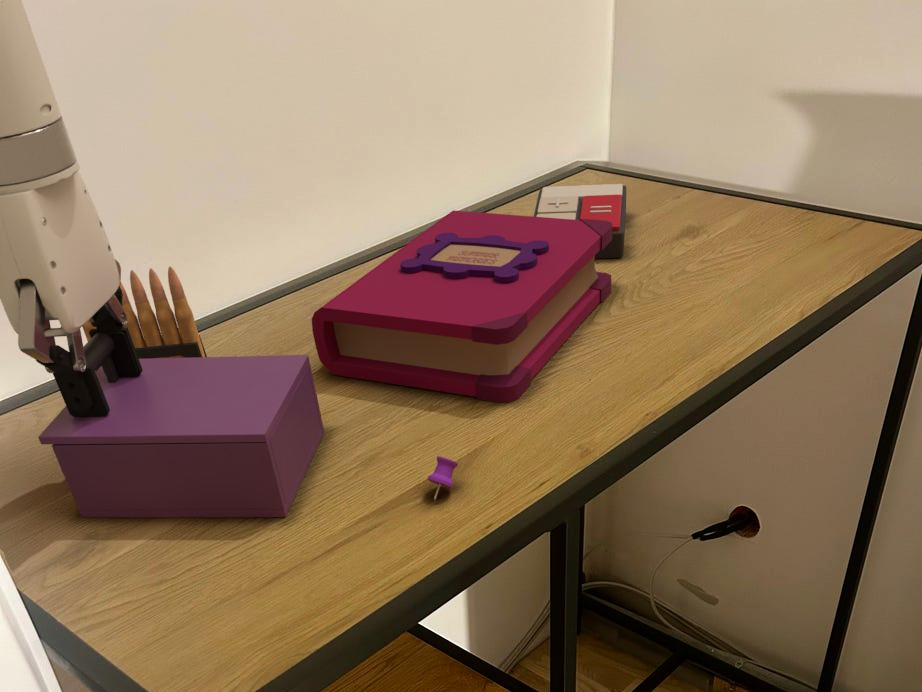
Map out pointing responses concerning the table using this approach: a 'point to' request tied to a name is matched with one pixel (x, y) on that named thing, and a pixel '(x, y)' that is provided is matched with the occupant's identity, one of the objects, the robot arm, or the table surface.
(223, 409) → the lid
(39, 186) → the robot arm
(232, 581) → the table surface
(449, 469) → the pushpin
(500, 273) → the book
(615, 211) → the calculator
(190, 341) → the ammunition clip
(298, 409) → the box
